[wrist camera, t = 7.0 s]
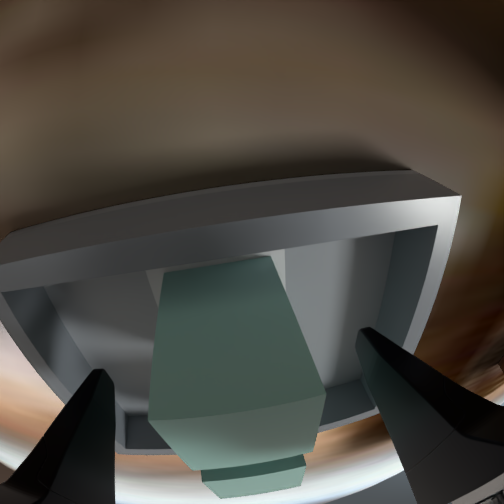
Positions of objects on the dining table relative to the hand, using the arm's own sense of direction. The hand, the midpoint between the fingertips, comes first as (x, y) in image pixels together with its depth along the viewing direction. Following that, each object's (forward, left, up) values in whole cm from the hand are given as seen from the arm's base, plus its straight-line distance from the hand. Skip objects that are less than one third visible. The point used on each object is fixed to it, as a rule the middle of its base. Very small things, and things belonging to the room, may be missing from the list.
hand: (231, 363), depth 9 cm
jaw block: (0, 0, -3) cm, 3 cm away
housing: (0, +2, -4) cm, 4 cm away
